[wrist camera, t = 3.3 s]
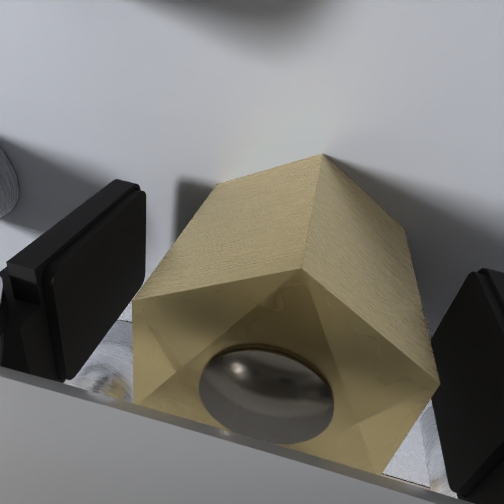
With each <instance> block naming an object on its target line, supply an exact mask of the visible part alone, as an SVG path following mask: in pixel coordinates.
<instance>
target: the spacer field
mask: <svg viewBox="0 0 504 504" xmlns="http://www.w3.org/2000/svg"><path fill="white" fill-rule="evenodd" d="M18 195H19V187H18V181H17V177H16V174H15V171H14V169H13V167H12V165H11V163H10V161H9V160H8V158H7V157H6V155H5V154H4V152H3V151H2V150H1V149H0V217H2V216H4V215H5V214H7V213H8V212H10V211H11V210H12V209H13V208H14V206H15V205H16V203H17V200H18ZM64 384H67V385H71V386H74V387H78V388H81V389H85V390H88V391H92V392H95V393H99V394H102V395H106V396H109V397H113V398H116V399H120V400H123V401H127V402H130V403H133V340H132V323H130V322H126V321H116V322H115V323H114V325H113V326H112V327H111V329H110V330H109V331H108V333H107V334H106V335H105V337H104V338H103V340H102V341H101V342H100V344H99V345H98V346H97V348H96V349H95V351H94V352H93V353H92V355H91V356H90V357H89V359H88V360H87V361H86V363H85V364H84V366H83V367H82V368H81V370H80V371H79V372H78V374H77V375H76V376H75V377H74V378H73V379H72V380H67V379H66V380H65V382H64ZM420 427H421V433H422V439H423V445H424V452H425V458H426V464H427V470H428V476H429V483H430V489H431V491H434V492H437V493H441V494H444V495H447V496H451V497H454V498H457V493H454V492H453V491H451V489H450V487H449V484H448V480H447V475H446V470H445V465H444V460H443V455H442V450H441V445H440V440H439V435H438V430H437V425H436V420H435V415H434V410H433V405H432V406H431V407H429V408H428V409H427V410H426V411H425V413H424V414H423V416H422V418H421V421H420ZM457 499H458V498H457Z"/></svg>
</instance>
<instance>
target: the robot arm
mask: <svg viewBox="0 0 504 504" xmlns="http://www.w3.org/2000/svg"><path fill="white" fill-rule="evenodd" d="M145 254H146V194H145V192H144V191H141V190H140V186H139V185H138V184H135V183H131V182H127V181H123V180H118V179H115V180H113V181H112V182H111V183H110V184H108V185H107V186H106V187H104V188H103V189H102V190H100V191H99V192H98V193H96V194H95V195H94V196H92V197H91V198H90V199H89V200H87V201H86V202H85V203H83V204H82V205H81V206H79V207H78V208H77V209H75V210H74V211H73V212H71V213H70V214H69V215H68V216H66V217H65V218H64V219H62V220H61V221H60V222H58V223H57V224H56V225H54V226H53V227H52V228H50V229H49V230H48V231H46V232H45V233H44V234H43V235H41V236H40V237H39V238H37V239H36V240H35V241H33V242H32V243H31V244H29V245H28V246H27V247H25V248H24V249H23V250H22V251H20V252H19V253H18V254H16V255H15V256H14V257H12V258H11V259H10V260H8V261H7V262H6V263H7V267H6V268H5V269H3V270H2V271H1V272H0V504H504V273H502V272H498V271H494V270H490V269H485V268H482V269H480V270H479V271H478V272H471V273H470V274H469V275H468V276H467V278H466V280H465V281H464V283H463V285H462V287H461V288H460V290H459V292H458V294H457V295H456V297H455V299H454V300H453V302H452V304H451V306H450V307H449V309H448V311H447V313H446V314H445V316H444V318H443V319H442V321H441V323H440V325H439V326H438V328H437V330H436V332H435V333H434V335H433V337H432V338H431V340H430V342H431V346H432V350H433V355H434V359H435V363H436V367H437V372H438V376H439V380H440V385H439V387H438V388H437V390H436V391H435V393H434V394H433V396H432V397H431V400H432V405H433V410H434V415H435V420H436V425H437V430H438V435H439V440H440V445H441V450H442V455H443V460H444V465H445V470H446V475H447V480H448V484H449V487H450V489H451V491H453V492H454V493H457V498H458V499H457V498H454V497H451V496H447V495H444V494H441V493H437V492H434V491H431V490H427V489H424V488H420V487H417V486H414V485H410V484H407V483H404V482H400V481H397V480H394V479H390V478H387V477H384V476H380V475H377V474H373V473H370V472H367V471H363V470H360V469H357V468H353V467H350V466H347V465H343V464H340V463H336V462H333V461H330V460H326V459H323V458H319V457H316V456H313V455H309V454H306V453H302V452H299V451H296V450H292V449H289V448H285V447H282V446H278V445H275V444H272V443H268V442H265V441H261V440H258V439H255V438H251V437H248V436H244V435H241V434H237V433H234V432H231V431H227V430H224V429H220V428H217V427H213V426H210V425H207V424H203V423H200V422H196V421H193V420H189V419H186V418H182V417H179V416H176V415H172V414H169V413H165V412H162V411H158V410H155V409H151V408H148V407H144V406H141V405H137V404H134V403H130V402H127V401H123V400H120V399H116V398H113V397H109V396H106V395H102V394H99V393H95V392H92V391H88V390H85V389H81V388H78V387H74V386H71V385H67V384H64V382H65V380H66V379H67V380H72V379H73V378H74V377H75V376H76V375H77V374H78V372H79V371H80V370H81V368H82V367H83V366H84V364H85V363H86V361H87V360H88V359H89V357H90V356H91V355H92V353H93V352H94V351H95V349H96V348H97V346H98V345H99V344H100V342H101V341H102V340H103V338H104V337H105V335H106V334H107V333H108V331H109V330H110V329H111V327H112V326H113V325H114V323H115V322H116V320H117V319H118V318H119V316H120V315H121V314H122V312H123V311H124V309H125V308H126V307H127V305H128V304H129V303H130V301H131V300H132V299H133V297H134V296H135V294H136V293H137V292H138V290H139V289H140V288H141V286H142V284H143V282H144V278H145Z"/></svg>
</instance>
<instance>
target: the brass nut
mask: <svg viewBox="0 0 504 504" xmlns="http://www.w3.org/2000/svg"><path fill="white" fill-rule="evenodd" d="M132 340H133V403H134V404H137V405H141V406H144V407H148V408H151V409H155V410H158V411H162V412H165V413H169V414H172V415H176V416H179V417H182V418H186V419H189V420H193V421H196V422H200V423H203V424H207V425H210V426H213V427H217V428H220V429H224V430H227V431H231V432H234V433H237V434H241V435H244V436H248V437H251V438H255V439H258V440H261V441H265V442H268V443H272V444H275V445H278V446H282V447H285V448H289V449H292V450H296V451H299V452H302V453H306V454H309V455H313V456H316V457H319V458H323V459H326V460H330V461H333V462H336V463H340V464H343V465H347V466H350V467H353V468H357V469H360V470H363V471H367V472H370V473H373V474H377V475H381V474H382V472H383V471H384V469H385V468H386V466H387V465H388V463H389V462H390V460H391V459H392V457H393V456H394V454H395V453H396V451H397V449H398V448H399V446H400V445H401V443H402V442H403V440H404V439H405V437H406V436H407V434H408V433H409V431H410V430H411V428H412V427H413V425H414V423H415V422H416V420H417V419H418V417H419V416H420V414H421V413H422V411H423V410H424V408H425V407H426V405H427V404H428V402H429V401H430V399H431V397H432V396H433V394H434V393H435V391H436V390H437V388H438V387H439V385H440V380H439V376H438V372H437V367H436V363H435V359H434V355H433V350H432V346H431V342H430V337H429V333H428V329H427V324H426V320H425V316H424V312H423V307H422V303H421V299H420V294H419V290H418V286H417V281H416V277H415V273H414V268H413V264H412V260H411V256H410V251H409V247H408V243H407V238H406V234H405V230H404V228H403V227H402V226H400V225H399V224H398V223H397V222H396V221H395V220H394V219H393V218H392V217H391V216H390V215H389V214H387V213H386V212H385V211H384V210H383V209H382V208H381V207H380V206H379V205H378V204H377V203H376V202H375V201H373V200H372V199H371V198H370V197H369V196H368V195H367V194H366V193H365V192H364V191H363V190H362V189H360V188H359V187H358V186H357V185H356V184H355V183H354V182H353V181H352V180H351V179H350V178H349V177H348V176H346V175H345V174H344V173H343V172H342V171H341V170H340V169H339V168H338V167H337V166H336V165H335V164H334V163H332V162H331V161H330V160H329V159H328V158H327V157H326V156H325V155H324V154H319V155H316V156H312V157H309V158H306V159H302V160H299V161H295V162H292V163H288V164H285V165H282V166H278V167H275V168H271V169H268V170H264V171H261V172H258V173H254V174H251V175H247V176H244V177H240V178H237V179H234V180H230V181H227V182H223V183H220V184H217V185H216V186H215V188H214V189H213V190H212V192H211V193H210V194H209V196H208V197H207V199H206V200H205V201H204V203H203V204H202V205H201V207H200V208H199V210H198V211H197V212H196V214H195V215H194V216H193V218H192V219H191V221H190V222H189V223H188V225H187V226H186V227H185V229H184V230H183V232H182V233H181V234H180V236H179V237H178V238H177V240H176V241H175V243H174V244H173V245H172V247H171V248H170V249H169V251H168V252H167V254H166V255H165V256H164V258H163V259H162V260H161V262H160V263H159V265H158V266H157V267H156V269H155V270H154V271H153V273H152V274H151V276H150V277H149V278H148V280H147V281H146V282H145V284H144V285H143V287H142V288H141V289H140V291H139V292H138V293H137V295H136V296H135V298H134V299H133V300H132Z"/></svg>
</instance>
